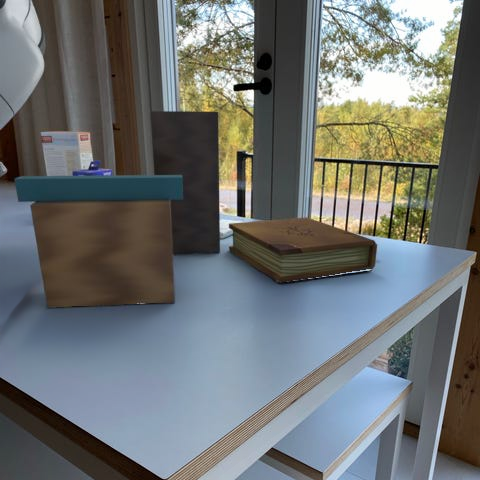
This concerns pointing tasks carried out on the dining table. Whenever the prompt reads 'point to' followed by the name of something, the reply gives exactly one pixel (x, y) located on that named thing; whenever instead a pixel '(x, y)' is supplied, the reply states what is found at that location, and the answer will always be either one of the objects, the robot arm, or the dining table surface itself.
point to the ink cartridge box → (93, 171)
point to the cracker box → (66, 152)
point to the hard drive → (226, 228)
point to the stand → (190, 175)
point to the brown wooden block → (105, 252)
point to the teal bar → (99, 188)
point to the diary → (301, 248)
